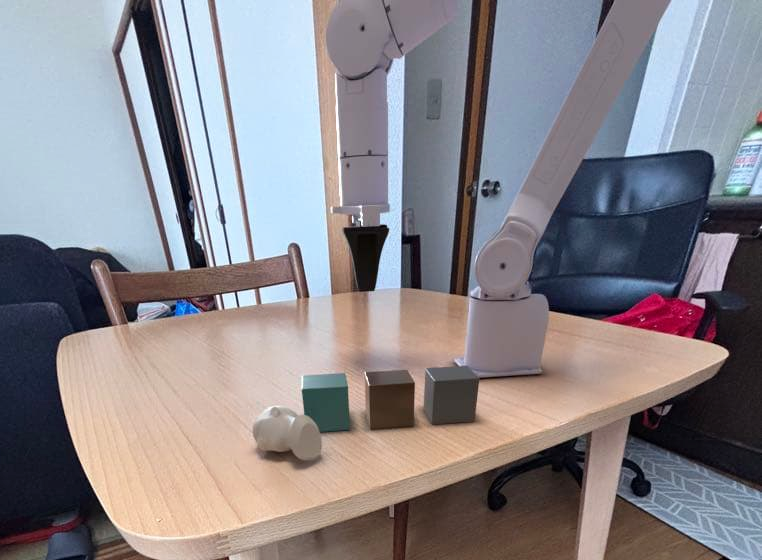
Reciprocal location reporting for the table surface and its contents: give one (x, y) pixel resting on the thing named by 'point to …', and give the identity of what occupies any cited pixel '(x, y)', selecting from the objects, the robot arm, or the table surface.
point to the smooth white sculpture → (287, 433)
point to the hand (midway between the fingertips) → (366, 290)
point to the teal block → (326, 401)
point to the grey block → (450, 394)
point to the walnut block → (389, 399)
